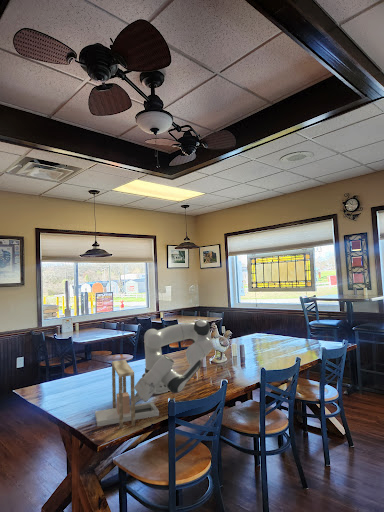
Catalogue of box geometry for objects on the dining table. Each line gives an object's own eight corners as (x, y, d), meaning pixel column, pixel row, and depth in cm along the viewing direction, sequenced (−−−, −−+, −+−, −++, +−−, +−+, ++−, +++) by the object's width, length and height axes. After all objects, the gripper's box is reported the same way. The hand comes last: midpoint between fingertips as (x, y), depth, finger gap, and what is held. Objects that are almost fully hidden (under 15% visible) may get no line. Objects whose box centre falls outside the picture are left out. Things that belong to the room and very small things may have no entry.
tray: (152, 406, 198) (152, 402, 198) (159, 415, 184) (159, 410, 185) (95, 416, 186) (95, 411, 187) (97, 426, 173) (97, 421, 173)
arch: (126, 406, 199) (125, 359, 201) (135, 425, 173) (134, 372, 174) (112, 408, 196) (111, 361, 198) (120, 428, 170) (119, 374, 172)
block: (127, 408, 189) (127, 392, 189) (129, 412, 183) (129, 395, 184) (116, 410, 187) (116, 393, 187) (118, 414, 181) (118, 397, 181)
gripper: (159, 390, 182) (141, 412, 178) (150, 379, 201) (134, 399, 197) (151, 382, 180) (133, 405, 176) (142, 372, 199) (126, 392, 196)
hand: (133, 401), depth 187 cm, fingers closed
